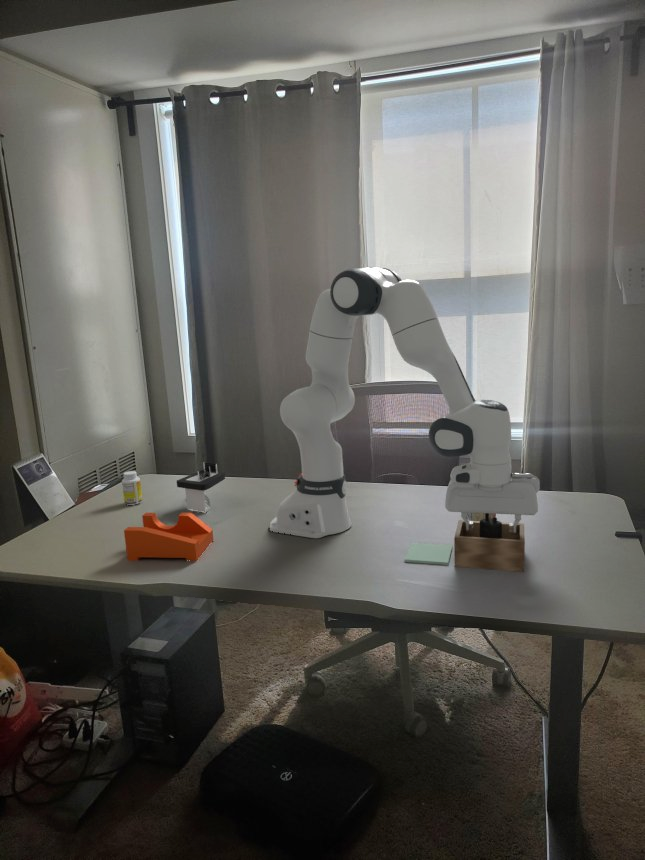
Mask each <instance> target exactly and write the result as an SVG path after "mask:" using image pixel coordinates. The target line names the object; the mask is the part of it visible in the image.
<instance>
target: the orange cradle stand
mask: <svg viewBox="0 0 645 860" xmlns="http://www.w3.org/2000/svg"><path fill="white" fill-rule="evenodd" d="M141 518H142V524H143V525H142V526H127V528H125V529H124V530H123V533H124V542H125V549H126V550H125V551H126V558H127V561H129V562H131V561H132V562H135V561H136V562H138V561H140V559H142V558H163V559H165V558H167V559H168V558H170V559H171V558H172V559H173V558H174V559H178V558H179V559H185V561H186V560H188V561H189V560H190V561H197V560H198V558H199V557H200V556H201V555H202V553H203V552H204V551H205V550H206V548H207V547H208V546H209V544H210V543H211V542H212V541H213V540H214V532H213V531H214V530H213V529H212V528H211V527H210V526H209V525H207V524H206V523H205V522H204V521H202V520H201V519H200V518H199V517H198V516H196V514H193V512H181V513H180V514H178V520H177V523H176V524H174V525H166V524H164V523H163V522H161V521H160V520H159V518H158V517H157V514H156V512H145V513H144V514H143V515H142V516H141ZM213 542H214V541H213ZM209 547H210V546H209ZM206 551H207V550H206ZM206 551H205V552H206ZM205 552H204V553H205ZM202 556H203V555H202ZM202 556H201V557H202ZM201 557H200V558H201ZM200 558H199V559H200ZM198 561H199V560H198ZM198 561H197V562H198Z"/></svg>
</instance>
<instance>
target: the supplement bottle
mask: <svg viewBox="0 0 645 860" xmlns="http://www.w3.org/2000/svg"><path fill="white" fill-rule="evenodd" d="M121 487H122V490H123V491H122V493H123V501H124V504H125V505H126V504H127V505H126V506H128V505H133V504H138V503H140V502H142V503H143V492H142V485H141V478H140V477H139V476H138V473H137V471H135V470H130V471H125V472H123V479H122V480H121ZM140 504H141V503H140ZM138 505H139V504H138ZM133 506H134V505H133Z"/></svg>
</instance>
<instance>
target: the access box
mask: <svg viewBox="0 0 645 860" xmlns="http://www.w3.org/2000/svg"><path fill="white" fill-rule="evenodd" d="M500 522H501V521H500ZM501 523H502V539H497V538H481V537H480V521H473V530H466V523H465V522H464V520H463V519H458V522H457V524H456V525H457V526H456V530H455V532H454V533H455V534H454V538H453V539H454V541H453V542H454V544H453V545H454V547H453V548H454V550H453V551H454V567H455V568H456V567H458V568H470V569H481V570H482V569H484V570H494V571H509V572H522V573H525V553H526V552H525V548H526V547H525V545H526V542H525V541H526V540H525V537H526V536H525V523H521V522H519V523H518V525H517V526H516V533H510V532H509V523H510V522H501Z"/></svg>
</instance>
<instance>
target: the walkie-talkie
mask: <svg viewBox="0 0 645 860" xmlns="http://www.w3.org/2000/svg"><path fill="white" fill-rule="evenodd" d="M480 537H481V538H497V539H502V523H501V521H499V520H498V518H497V516H496V517H493V519H491V518H489V513H485V519H482V520H480Z"/></svg>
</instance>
